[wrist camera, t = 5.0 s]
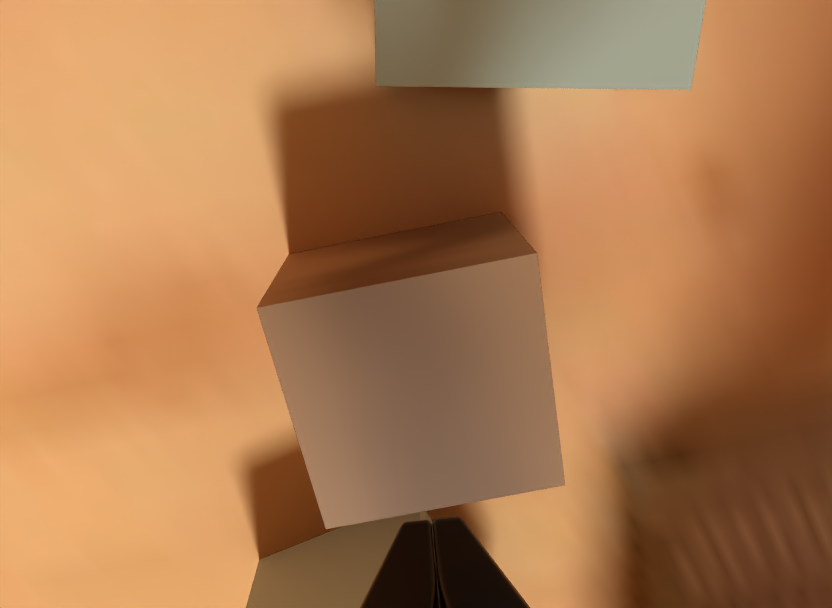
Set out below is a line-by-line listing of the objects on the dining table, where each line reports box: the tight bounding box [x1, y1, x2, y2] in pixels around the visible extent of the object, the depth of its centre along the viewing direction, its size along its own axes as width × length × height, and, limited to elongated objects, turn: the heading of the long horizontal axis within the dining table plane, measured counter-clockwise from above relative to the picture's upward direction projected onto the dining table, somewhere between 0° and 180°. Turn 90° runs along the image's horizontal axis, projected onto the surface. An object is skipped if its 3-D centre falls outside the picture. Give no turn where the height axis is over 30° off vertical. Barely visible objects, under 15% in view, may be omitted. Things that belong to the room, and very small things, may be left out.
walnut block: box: [257, 212, 565, 529], centre depth 14 cm, size 6×6×4 cm
